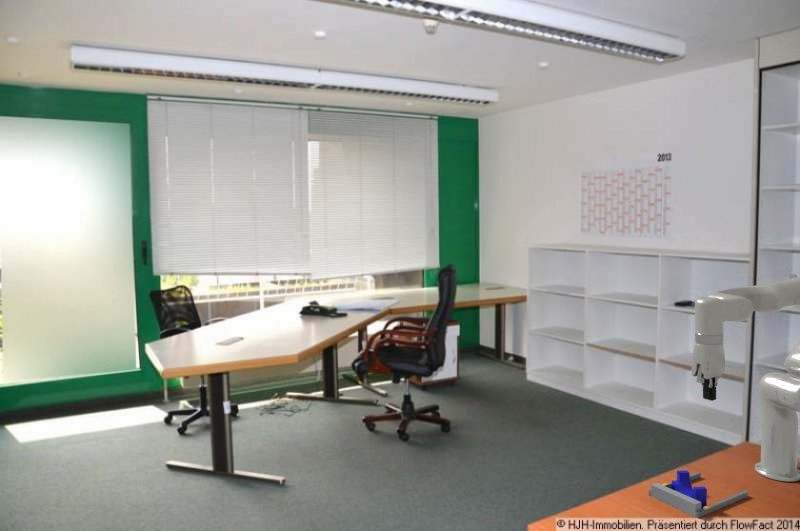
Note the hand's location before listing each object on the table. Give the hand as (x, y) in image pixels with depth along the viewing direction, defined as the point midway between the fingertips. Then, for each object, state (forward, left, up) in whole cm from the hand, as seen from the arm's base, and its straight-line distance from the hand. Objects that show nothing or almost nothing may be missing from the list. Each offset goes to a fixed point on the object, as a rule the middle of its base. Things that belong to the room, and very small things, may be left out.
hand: (709, 399), depth 179 cm
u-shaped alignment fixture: (+10, +3, -26) cm, 28 cm away
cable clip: (+14, +3, -27) cm, 30 cm away
